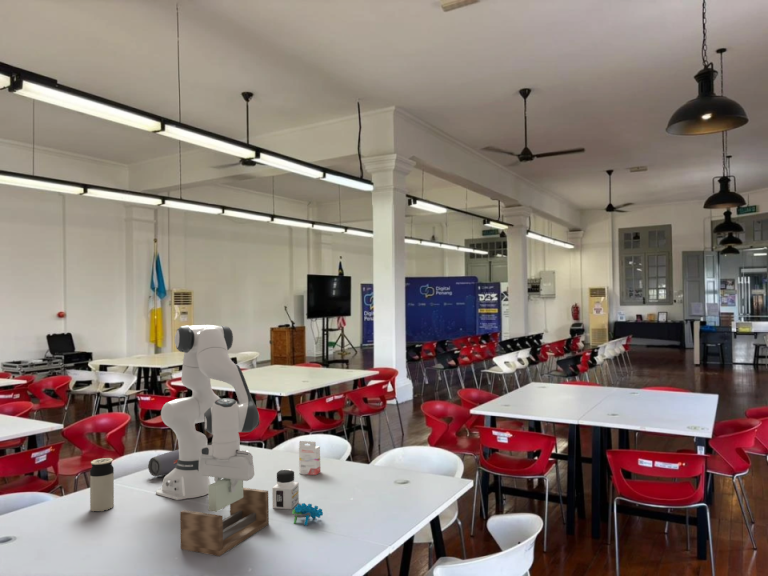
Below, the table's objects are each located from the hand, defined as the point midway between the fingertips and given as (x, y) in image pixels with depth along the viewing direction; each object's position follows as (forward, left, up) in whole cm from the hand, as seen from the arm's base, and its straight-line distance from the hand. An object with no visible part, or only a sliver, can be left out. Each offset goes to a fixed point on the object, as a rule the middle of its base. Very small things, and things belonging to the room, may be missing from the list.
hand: (226, 491), depth 184 cm
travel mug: (-62, +5, -15) cm, 64 cm away
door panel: (0, 0, -4) cm, 4 cm away
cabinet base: (0, 0, -15) cm, 15 cm away
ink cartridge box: (-9, +70, -15) cm, 72 cm away
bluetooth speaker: (-69, +51, -15) cm, 87 cm away
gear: (+19, +20, -15) cm, 31 cm away
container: (+3, +31, -15) cm, 34 cm away
